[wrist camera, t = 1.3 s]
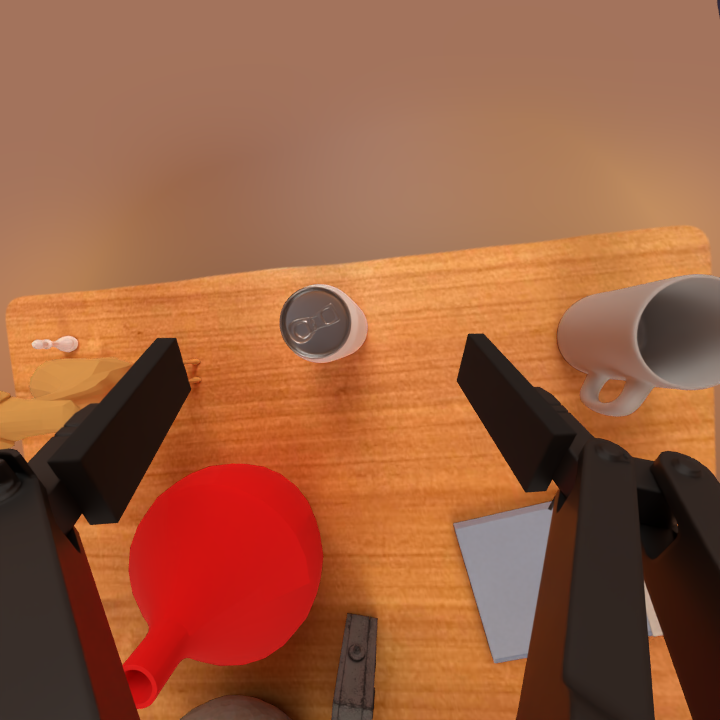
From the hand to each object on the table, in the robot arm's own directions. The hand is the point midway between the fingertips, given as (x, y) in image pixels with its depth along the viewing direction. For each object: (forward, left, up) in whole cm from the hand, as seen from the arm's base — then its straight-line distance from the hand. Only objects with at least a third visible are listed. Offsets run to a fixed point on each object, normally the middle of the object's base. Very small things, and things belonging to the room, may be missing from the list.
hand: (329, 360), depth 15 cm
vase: (+18, +16, -22) cm, 33 cm away
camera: (+12, +37, -22) cm, 45 cm away
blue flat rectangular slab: (-14, +30, -22) cm, 39 cm away
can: (+2, -3, -22) cm, 22 cm away
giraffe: (+20, -3, -22) cm, 30 cm away
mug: (-23, +7, -22) cm, 32 cm away
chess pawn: (+35, -11, -22) cm, 43 cm away
